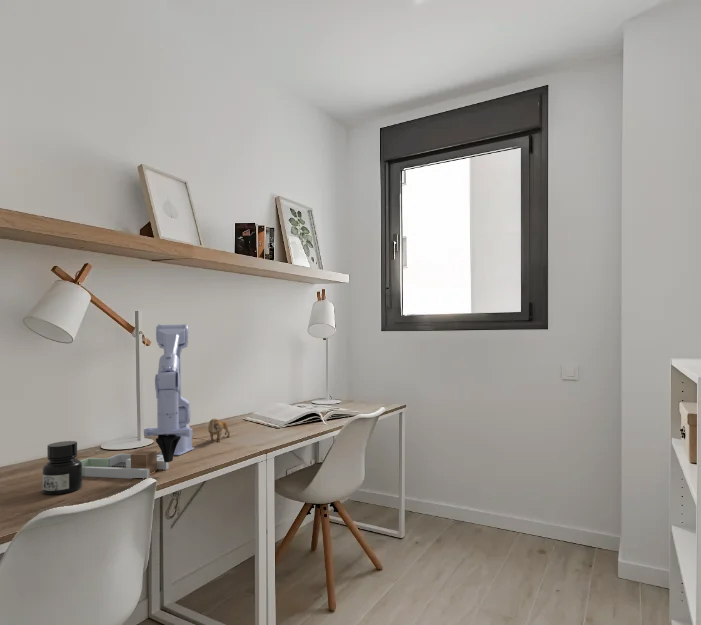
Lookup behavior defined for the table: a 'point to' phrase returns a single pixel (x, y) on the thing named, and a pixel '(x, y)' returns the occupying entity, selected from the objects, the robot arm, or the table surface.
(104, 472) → the trap box
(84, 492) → the table surface
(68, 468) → the ink bottle
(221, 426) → the lion figurine
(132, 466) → the walnut block
